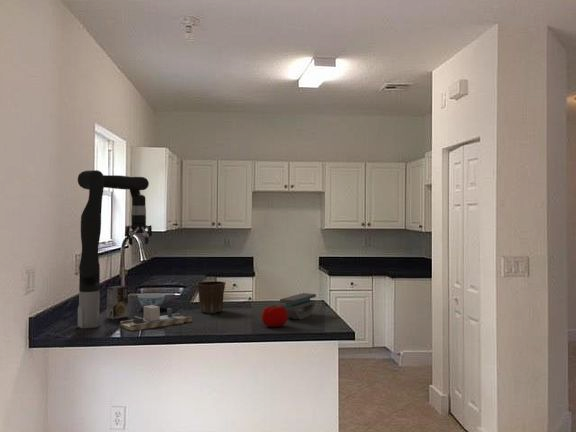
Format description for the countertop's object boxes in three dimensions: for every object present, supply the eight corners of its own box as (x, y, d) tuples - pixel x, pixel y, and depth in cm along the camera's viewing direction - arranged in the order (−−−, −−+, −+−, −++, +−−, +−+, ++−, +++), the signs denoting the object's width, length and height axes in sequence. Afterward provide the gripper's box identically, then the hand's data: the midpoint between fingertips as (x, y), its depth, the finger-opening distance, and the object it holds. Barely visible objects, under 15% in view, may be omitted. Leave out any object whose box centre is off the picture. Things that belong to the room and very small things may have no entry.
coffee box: (121, 315, 281) (121, 285, 281) (128, 316, 277) (128, 286, 277) (106, 317, 274) (106, 287, 274) (113, 319, 270) (113, 288, 270)
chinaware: (149, 312, 290) (149, 298, 290) (132, 309, 299) (132, 296, 299) (170, 308, 302) (170, 295, 302) (153, 306, 311) (153, 293, 311)
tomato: (290, 328, 248) (290, 306, 248) (264, 329, 245) (264, 307, 245) (283, 323, 259) (283, 302, 259) (259, 325, 255) (259, 304, 255)
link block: (150, 320, 252) (150, 307, 252) (143, 318, 257) (143, 306, 257) (159, 319, 255) (159, 306, 255) (152, 317, 260) (152, 304, 260)
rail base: (131, 330, 242) (131, 321, 242) (119, 326, 252) (119, 317, 252) (191, 321, 263) (191, 312, 263) (178, 318, 273) (178, 309, 273)
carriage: (147, 324, 250) (147, 313, 250) (138, 321, 256) (138, 310, 256) (176, 319, 260) (176, 309, 260) (168, 317, 267) (168, 307, 267)
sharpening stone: (303, 312, 289) (303, 293, 289) (315, 314, 285) (315, 294, 285) (280, 320, 267) (280, 299, 267) (293, 321, 263) (293, 300, 263)
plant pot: (200, 315, 281) (200, 285, 281) (193, 310, 296) (193, 282, 296) (229, 313, 288) (229, 283, 288) (220, 308, 302) (220, 280, 302)
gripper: (129, 214, 272) (129, 245, 272) (154, 214, 281) (154, 244, 281) (122, 214, 277) (122, 244, 277) (147, 214, 287) (147, 244, 287)
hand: (138, 244), depth 279 cm, fingers open, 8 cm apart
